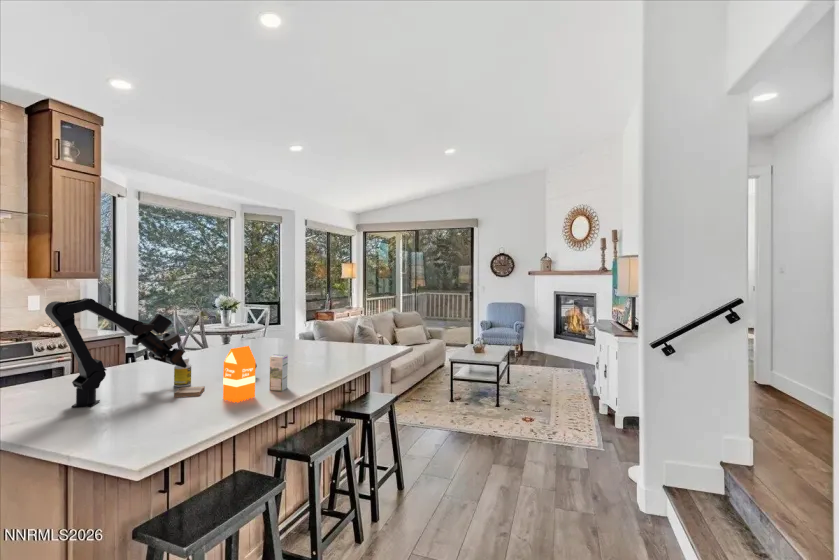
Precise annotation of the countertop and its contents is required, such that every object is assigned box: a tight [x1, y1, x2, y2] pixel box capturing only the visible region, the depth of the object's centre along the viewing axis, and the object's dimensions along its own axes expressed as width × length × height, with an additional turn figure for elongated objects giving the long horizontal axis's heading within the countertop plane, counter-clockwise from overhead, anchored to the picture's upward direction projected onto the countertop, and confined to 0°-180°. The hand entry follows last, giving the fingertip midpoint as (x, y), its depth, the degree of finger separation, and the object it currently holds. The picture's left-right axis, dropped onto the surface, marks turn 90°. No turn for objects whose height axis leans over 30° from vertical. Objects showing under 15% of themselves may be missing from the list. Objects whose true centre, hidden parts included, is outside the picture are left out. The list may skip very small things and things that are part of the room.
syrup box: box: [269, 353, 289, 392], centre depth 182 cm, size 6×6×14 cm
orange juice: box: [222, 345, 256, 403], centre depth 168 cm, size 8×9×20 cm
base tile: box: [173, 385, 205, 398], centre depth 173 cm, size 9×9×2 cm
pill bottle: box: [173, 357, 192, 388], centre depth 185 cm, size 6×6×12 cm
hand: (180, 365), depth 184 cm, fingers open, 9 cm apart
